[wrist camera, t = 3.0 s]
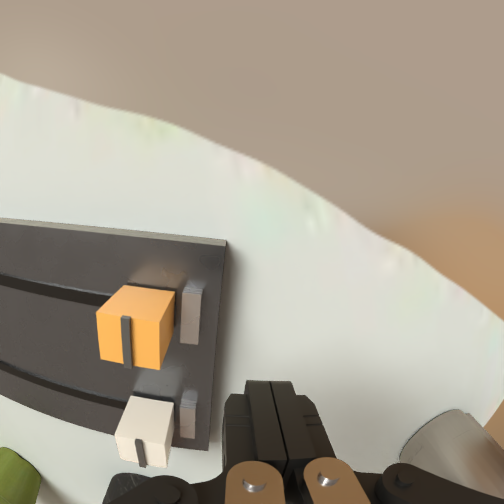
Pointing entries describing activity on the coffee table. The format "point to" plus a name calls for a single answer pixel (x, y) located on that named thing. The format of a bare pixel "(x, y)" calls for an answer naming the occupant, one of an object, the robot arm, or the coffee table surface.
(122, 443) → the fader white
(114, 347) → the fader orange
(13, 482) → the plant pot
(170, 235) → the board
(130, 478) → the travel mug
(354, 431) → the coffee table surface
